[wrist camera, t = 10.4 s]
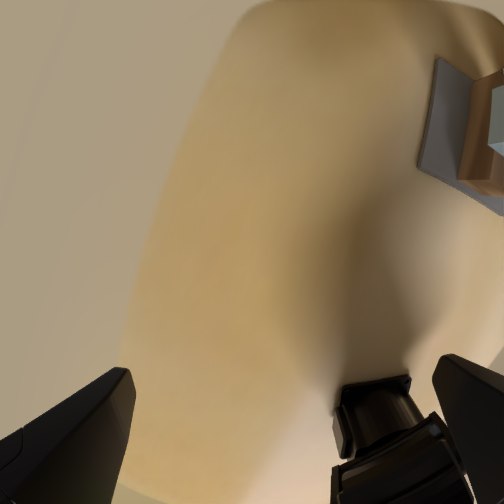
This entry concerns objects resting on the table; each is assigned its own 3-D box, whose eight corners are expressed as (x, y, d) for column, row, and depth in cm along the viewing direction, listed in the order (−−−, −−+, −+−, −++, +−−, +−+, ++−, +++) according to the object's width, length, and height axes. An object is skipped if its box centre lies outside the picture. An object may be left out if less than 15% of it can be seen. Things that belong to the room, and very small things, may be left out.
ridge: (494, 101, 16) (523, 92, 12) (482, 195, 18) (514, 197, 14) (471, 83, 16) (499, 70, 12) (456, 179, 18) (489, 179, 14)
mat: (514, 117, 17) (518, 116, 16) (500, 215, 19) (504, 216, 18) (435, 60, 16) (439, 57, 16) (416, 167, 18) (420, 167, 18)
